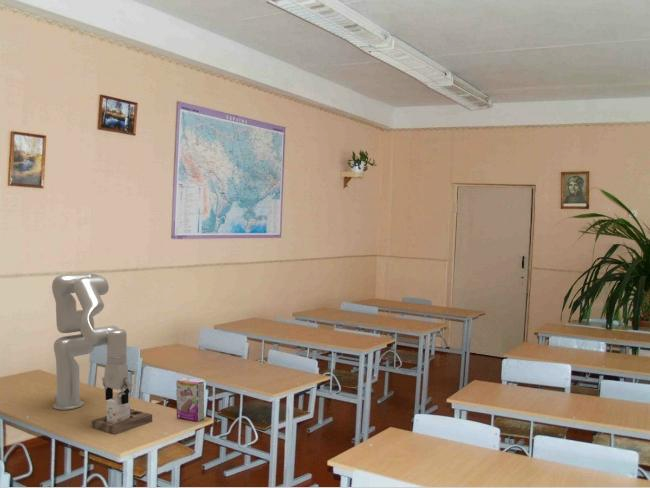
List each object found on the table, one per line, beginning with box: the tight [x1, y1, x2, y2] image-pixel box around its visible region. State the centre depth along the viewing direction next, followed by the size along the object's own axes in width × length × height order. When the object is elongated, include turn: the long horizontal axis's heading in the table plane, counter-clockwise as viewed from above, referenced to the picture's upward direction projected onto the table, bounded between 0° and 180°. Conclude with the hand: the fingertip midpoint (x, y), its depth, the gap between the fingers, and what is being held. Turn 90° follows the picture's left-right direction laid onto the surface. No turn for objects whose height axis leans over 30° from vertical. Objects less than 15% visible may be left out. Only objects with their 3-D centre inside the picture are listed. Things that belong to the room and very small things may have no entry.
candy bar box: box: [176, 377, 205, 422], centre depth 270 cm, size 11×5×16 cm, turn 65°
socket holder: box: [91, 408, 153, 435], centre depth 263 cm, size 14×19×3 cm
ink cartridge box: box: [105, 391, 131, 424], centre depth 260 cm, size 9×5×15 cm, turn 155°
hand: (116, 401), depth 260 cm, fingers open, 9 cm apart
